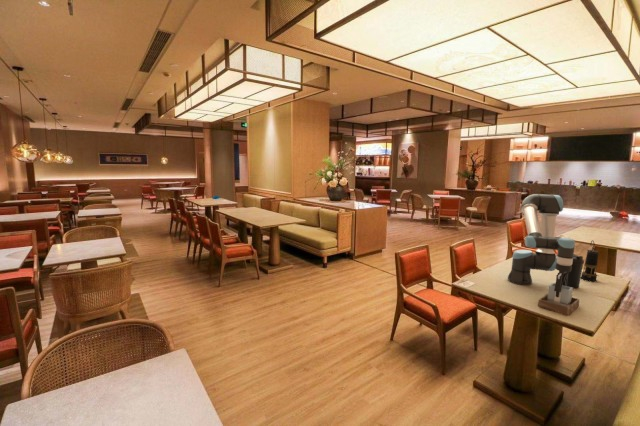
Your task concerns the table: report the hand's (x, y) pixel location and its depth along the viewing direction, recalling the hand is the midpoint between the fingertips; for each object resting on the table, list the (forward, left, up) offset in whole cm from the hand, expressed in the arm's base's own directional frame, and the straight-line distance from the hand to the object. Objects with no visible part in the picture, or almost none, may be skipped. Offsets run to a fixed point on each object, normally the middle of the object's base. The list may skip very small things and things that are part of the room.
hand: (559, 299), depth 190 cm
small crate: (0, 0, 0) cm, 0 cm away
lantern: (-71, -1, -4) cm, 71 cm away
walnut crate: (0, 0, -4) cm, 4 cm away
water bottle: (-45, -5, -4) cm, 45 cm away
